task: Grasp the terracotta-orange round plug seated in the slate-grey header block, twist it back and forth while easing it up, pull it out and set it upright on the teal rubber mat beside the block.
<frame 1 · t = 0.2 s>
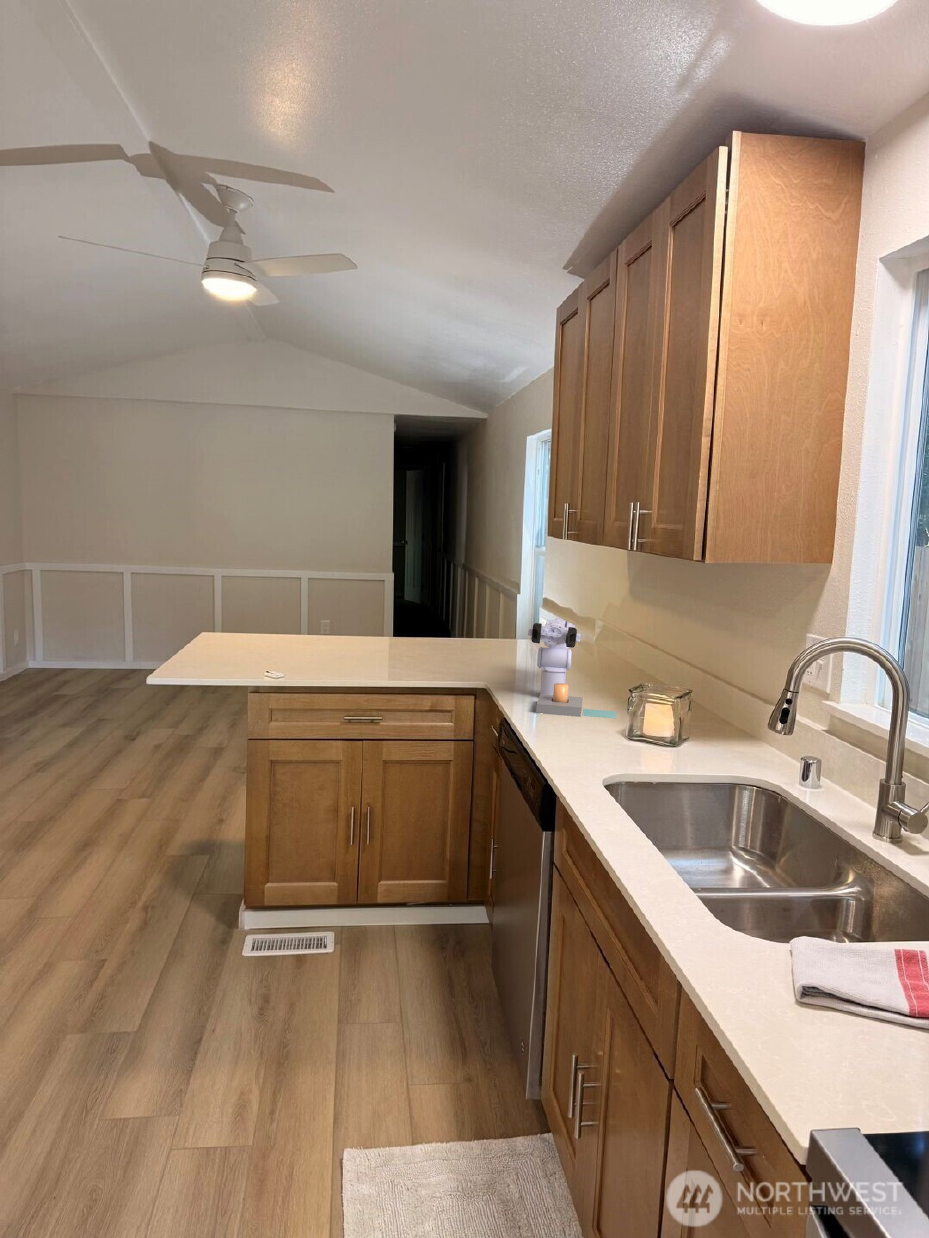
hand: (552, 637, 230), 21 cm above the worktop, tool horizontal, fingers open, 7 cm apart
header: (559, 711, 236), on the worktop
plug: (559, 709, 236), resting on header
mat: (599, 715, 233), on the worktop
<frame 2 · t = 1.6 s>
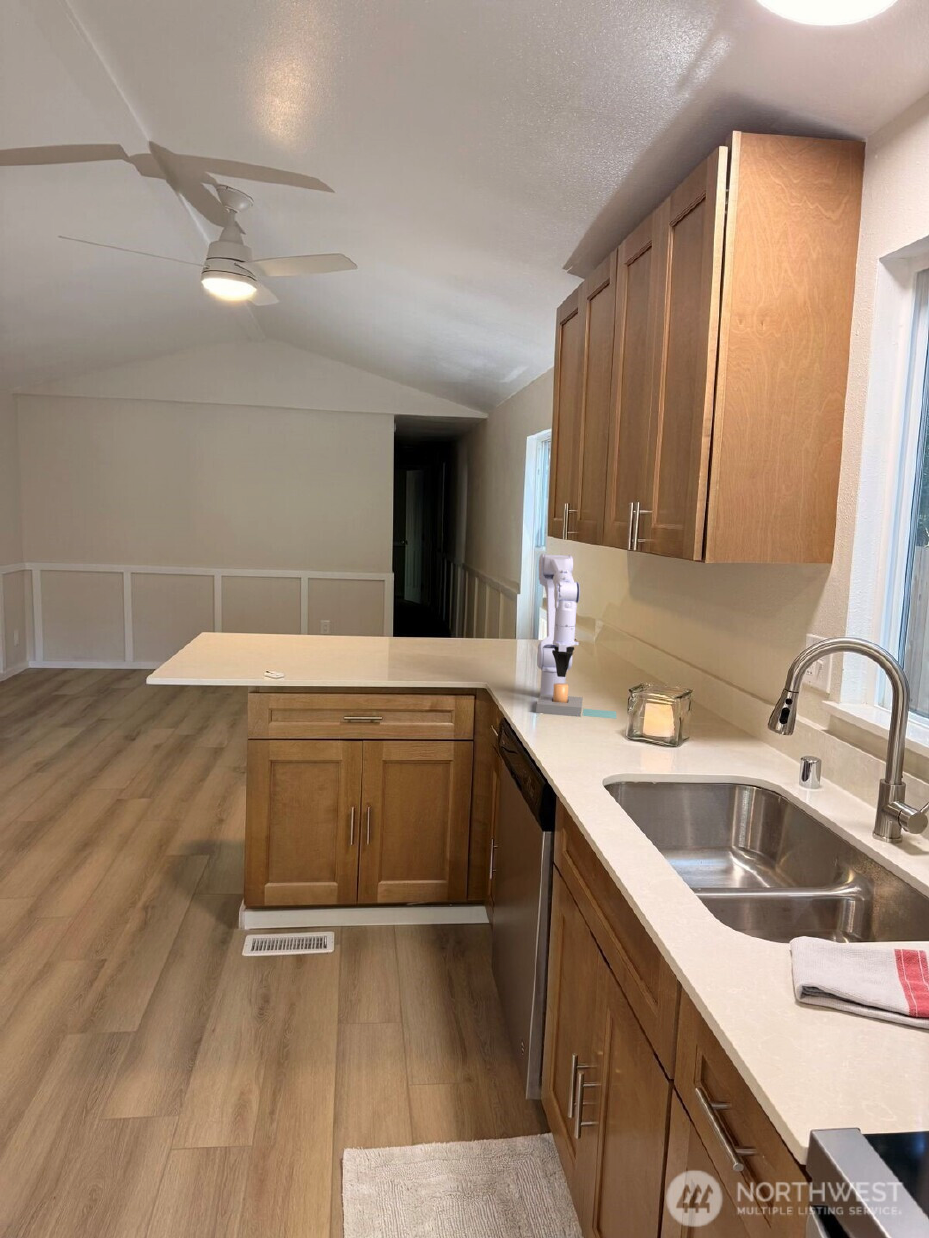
hand: (561, 674, 234), 10 cm above the worktop, tool pointing down, fingers open, 7 cm apart
nothing on the worktop moved.
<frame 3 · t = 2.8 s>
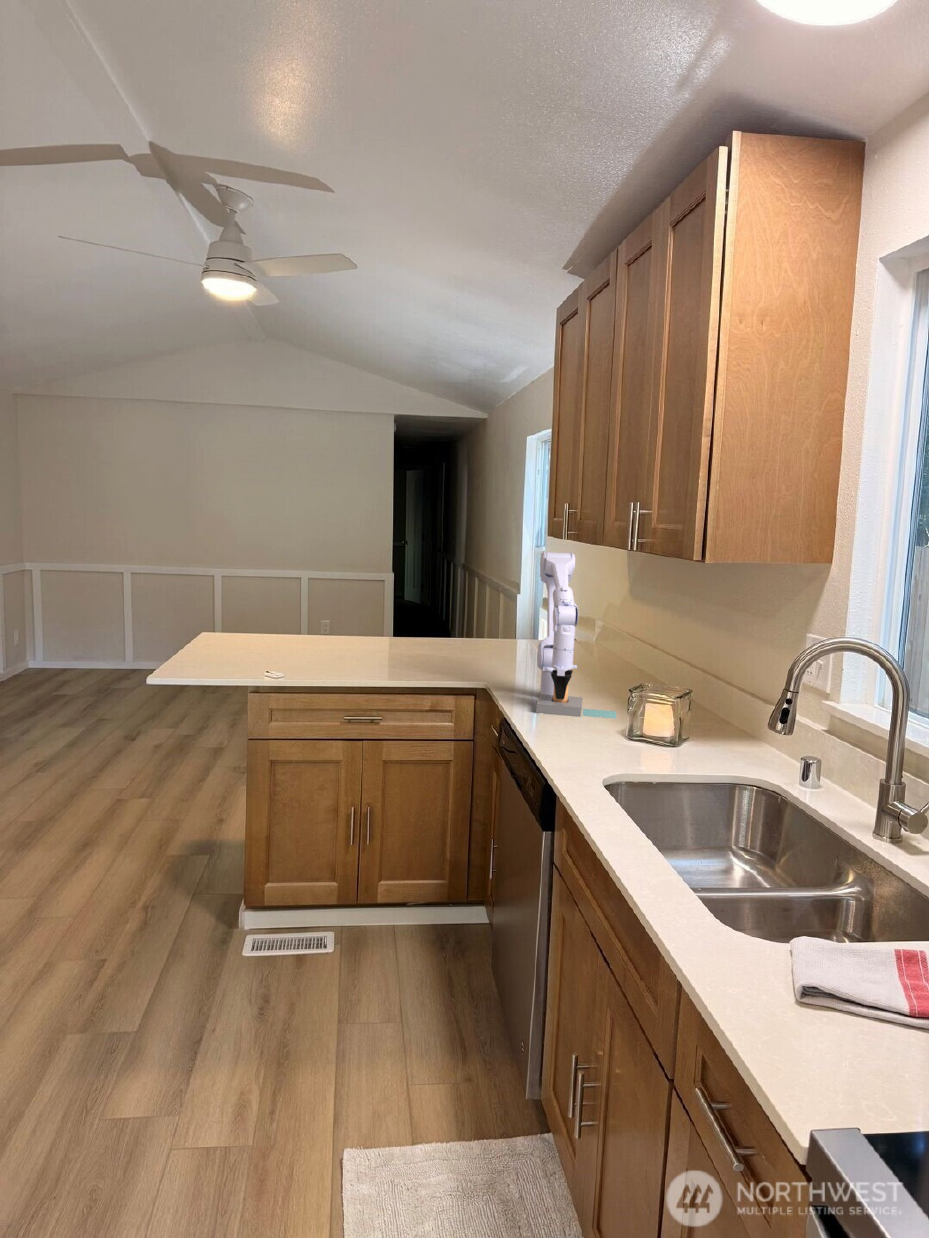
hand: (560, 697, 235), 4 cm above the worktop, tool pointing down, fingers closed on plug, 4 cm apart
plug: (559, 709, 236), resting on header, touching gripper
when the fingers open (5 cm above the worktop, at t = 7.4 s): plug drops 1 cm, resting on mat.
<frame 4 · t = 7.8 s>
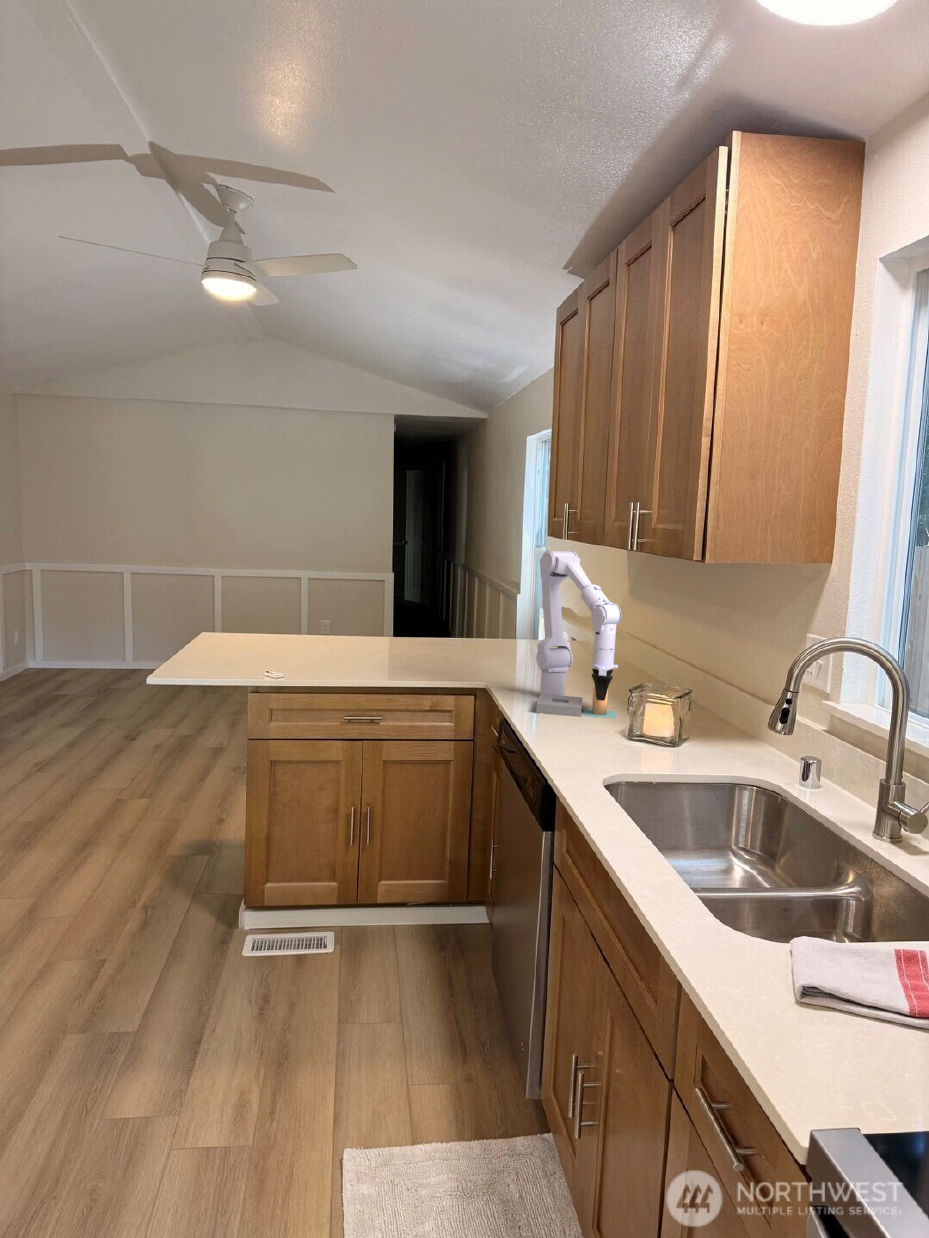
hand: (600, 697, 233), 5 cm above the worktop, tool pointing down, fingers open, 7 cm apart
plug: (599, 713, 233), point 1 cm above the worktop, touching mat
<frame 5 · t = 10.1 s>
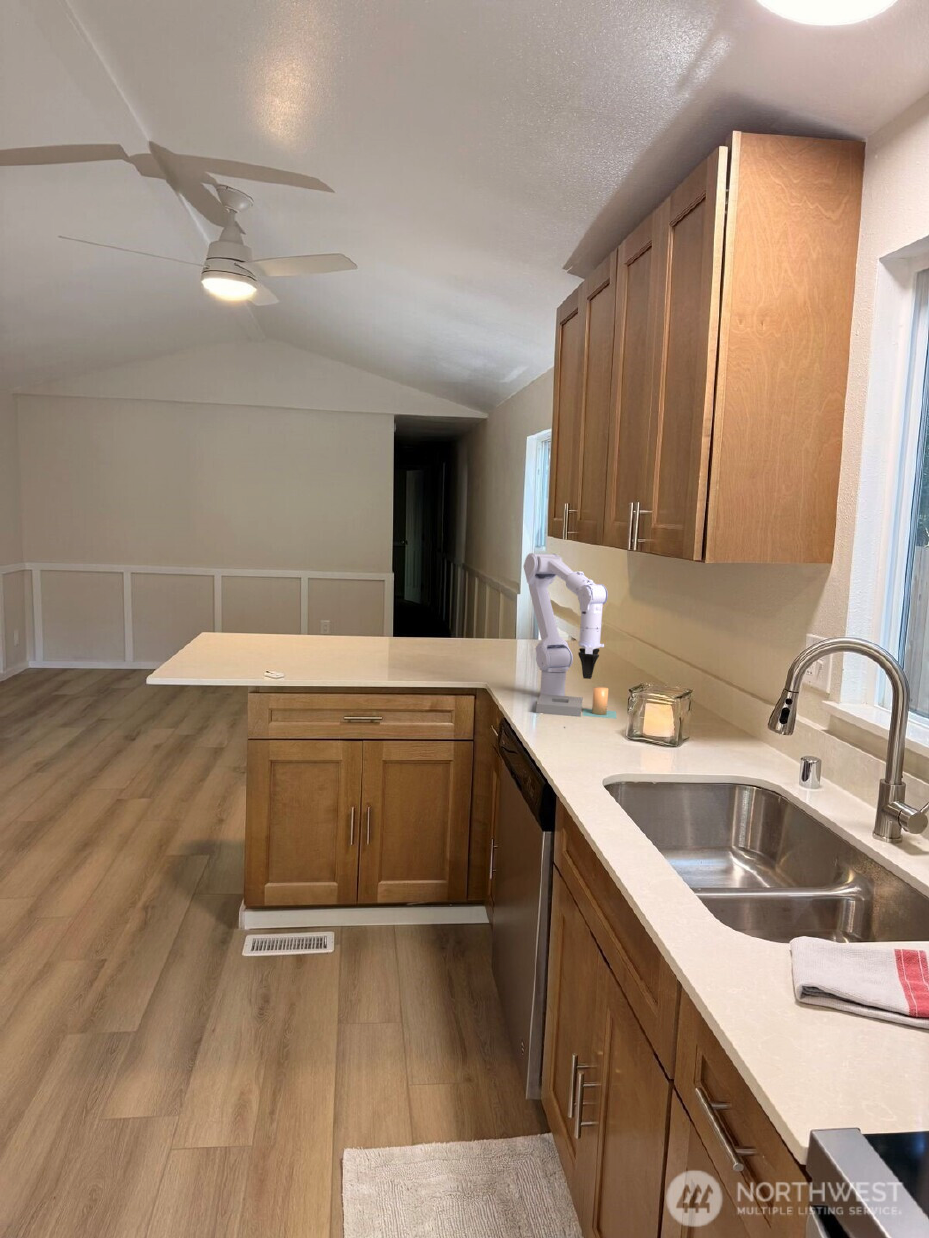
hand: (587, 676, 237), 10 cm above the worktop, tool pointing down, fingers open, 7 cm apart
nothing on the worktop moved.
at the end: plug 0.1 cm off-centre on the mat, point 0.6 cm above the mat's base; plug tilted 2°; the gripper is holding nothing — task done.
